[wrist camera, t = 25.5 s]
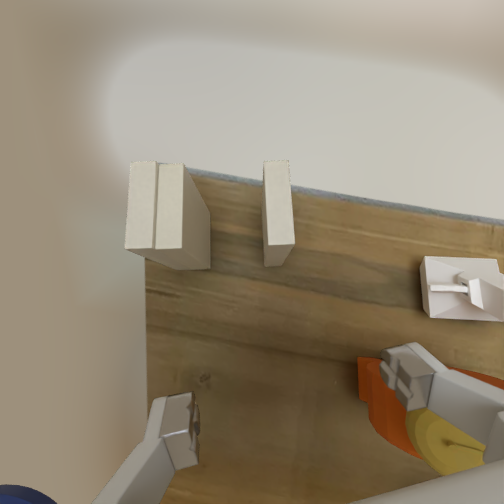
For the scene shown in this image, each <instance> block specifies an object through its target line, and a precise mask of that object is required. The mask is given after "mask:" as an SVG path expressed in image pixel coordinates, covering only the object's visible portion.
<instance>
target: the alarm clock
mask: <svg viewBox="0 0 504 504" xmlns="http://www.w3.org/2000/svg"><path fill="white" fill-rule="evenodd" d="M357 359H358V382H359V399H361V400H363V401H365V402H367V403H368V410H369V420H370V422H371V423H372V425H373V427H374V428H375V430H376V432H377V433H379V434H380V435H381V436H382V437H383V438H385V439H386V440H387V441H388V442H389V443H391V444H393V445H395V446H396V447H398V448H400V449H402V450H403V451H405V452H407V453H409V454H411V455H413V456H415V457H418V458H420V459H423V460H424V461H425V462H426V463H427V464H428V465H429V466H430V467H432V468H433V469H434V470H436V471H437V472H438V473H440V474H441V475H444V476H446V475H450V474H453V473H457V472H460V471H464V470H467V469H471V468H474V467H478V466H481V465H485V463H484V462H483V460H482V456H483V453H484V450H485V447H486V446H485V445H483V444H482V443H480V442H478V441H477V440H475V439H474V438H472V437H471V436H469V435H468V434H466V433H464V432H463V431H461V430H460V429H458V428H457V427H455V426H454V425H452V424H450V423H449V422H447V421H446V420H444V419H443V418H441V417H440V416H438V415H436V414H435V413H433V412H432V411H430V410H429V409H427V408H428V407H427V408H422V409H418V410H413V411H408V412H407V411H406V409H405V408H404V407H403V406H402V404H401V403H400V402H399V401H398V399H397V398H396V396H395V391H394V390H392V389H390V388H388V387H387V385H386V384H385V383H384V381H383V379H382V378H381V375H380V371H379V364H380V363H381V361H382V360H380V359H376V358H371V357H357ZM445 367H447V366H445ZM447 368H448V369H449V370H451V369H454V370H456V371H458V372H461V373H463V374H466V375H468V376H471V377H473V378H476V379H478V380H480V381H483V382H485V383H488V384H490V385H493V386H495V387H498V388H500V389H503V390H504V380H501V379H498V378H495V377H491V376H488V375H484V374H480V373H477V372H472V371H467V370H463V369H458V368H453V367H447Z"/></svg>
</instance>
